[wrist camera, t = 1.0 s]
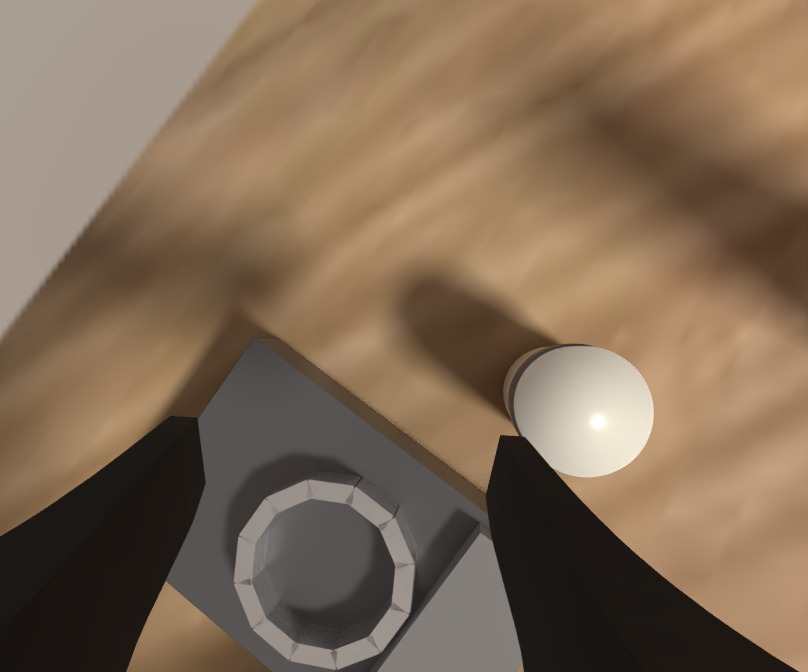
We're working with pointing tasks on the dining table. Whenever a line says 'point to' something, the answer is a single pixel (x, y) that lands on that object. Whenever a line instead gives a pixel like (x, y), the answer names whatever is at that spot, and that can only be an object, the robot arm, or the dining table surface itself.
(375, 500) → the mount ring
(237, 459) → the camera body
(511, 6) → the dining table surface
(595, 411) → the lens
